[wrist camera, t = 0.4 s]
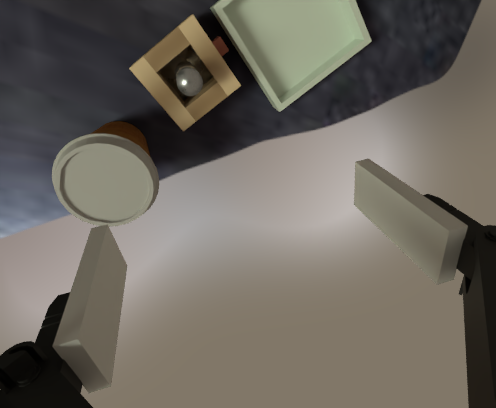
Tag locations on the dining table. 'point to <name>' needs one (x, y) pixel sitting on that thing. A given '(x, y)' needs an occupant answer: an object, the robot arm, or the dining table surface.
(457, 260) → the robot arm
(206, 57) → the wooden square frame
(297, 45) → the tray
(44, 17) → the dining table surface
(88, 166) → the disposable coffee cup
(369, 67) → the dining table surface
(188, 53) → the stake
